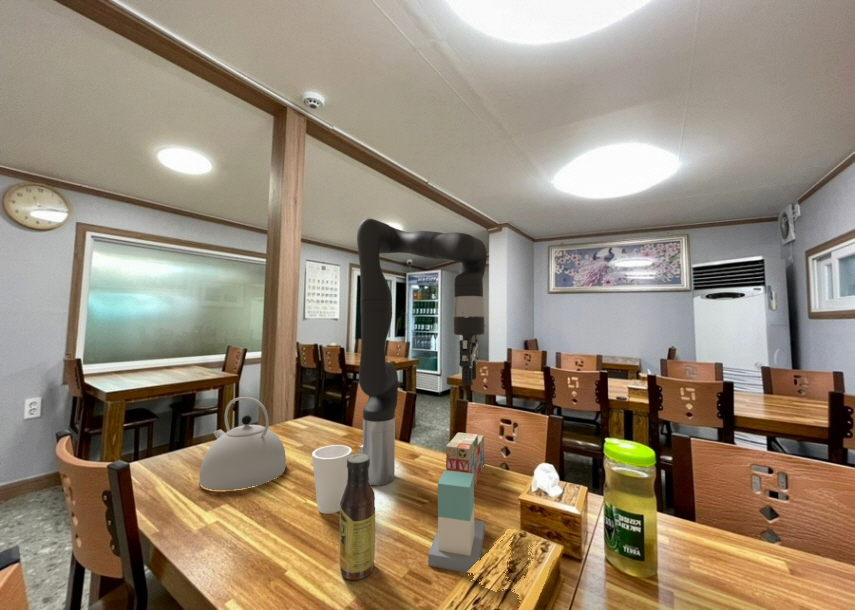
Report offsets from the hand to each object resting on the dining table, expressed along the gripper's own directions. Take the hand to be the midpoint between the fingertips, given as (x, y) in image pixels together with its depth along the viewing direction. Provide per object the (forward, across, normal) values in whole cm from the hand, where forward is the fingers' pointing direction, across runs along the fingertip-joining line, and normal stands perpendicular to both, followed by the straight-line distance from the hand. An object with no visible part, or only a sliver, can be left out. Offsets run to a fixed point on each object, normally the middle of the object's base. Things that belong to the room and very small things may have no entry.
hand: (469, 382), depth 82 cm
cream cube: (+28, +16, 0) cm, 32 cm away
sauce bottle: (+30, +25, -17) cm, 43 cm away
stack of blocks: (+30, -17, -3) cm, 35 cm away
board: (+30, +14, 0) cm, 33 cm away
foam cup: (+30, +7, -33) cm, 45 cm away
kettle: (+30, -3, -69) cm, 76 cm away
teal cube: (+22, +16, 0) cm, 27 cm away
